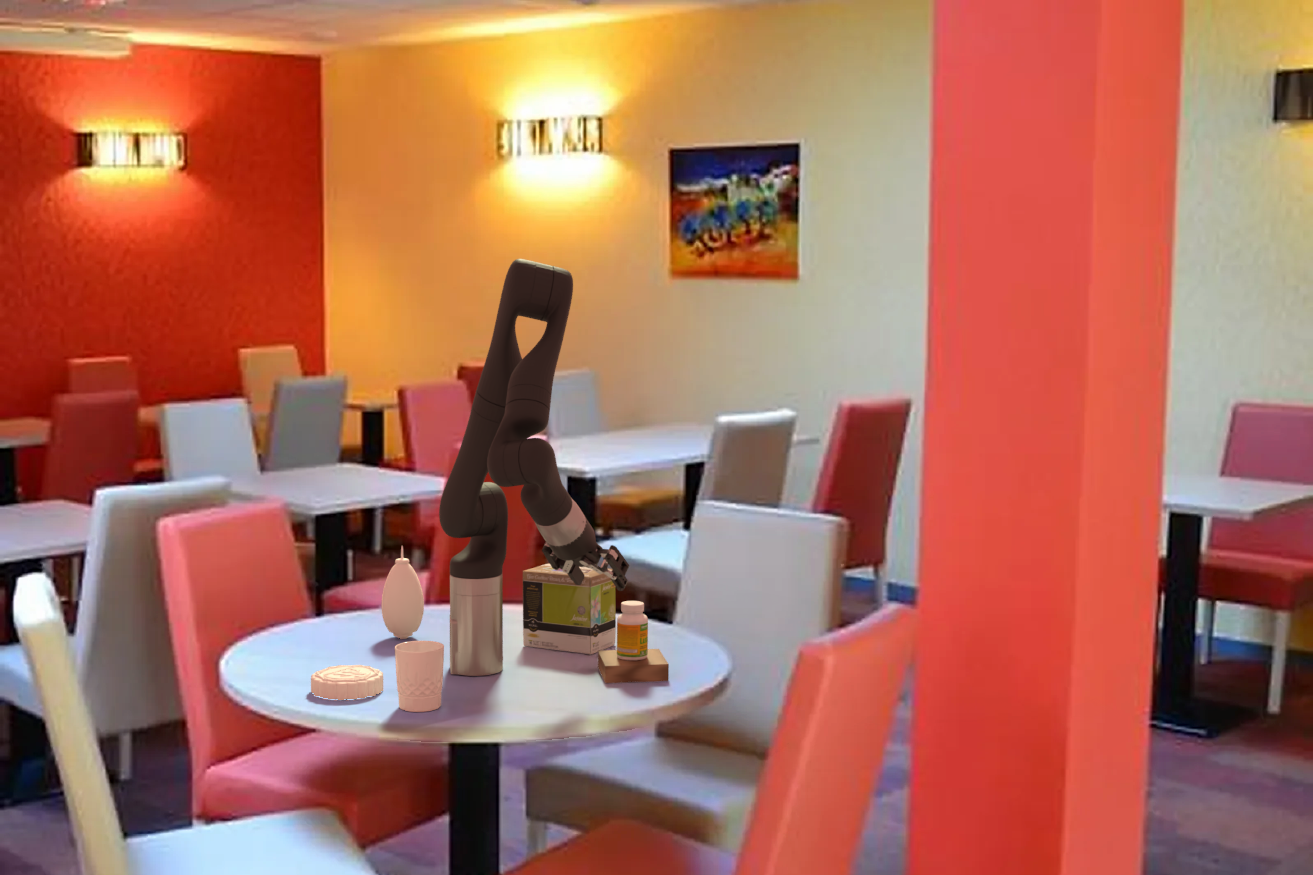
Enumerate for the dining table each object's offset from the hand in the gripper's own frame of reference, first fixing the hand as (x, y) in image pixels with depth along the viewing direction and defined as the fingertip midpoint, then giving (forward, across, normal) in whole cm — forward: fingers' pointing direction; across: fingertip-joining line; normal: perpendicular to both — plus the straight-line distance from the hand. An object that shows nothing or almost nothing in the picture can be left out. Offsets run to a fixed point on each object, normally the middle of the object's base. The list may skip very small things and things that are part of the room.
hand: (601, 583), depth 267 cm
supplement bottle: (+18, 0, +4) cm, 18 cm away
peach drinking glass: (-6, +18, +31) cm, 37 cm away
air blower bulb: (+19, +51, +6) cm, 55 cm away
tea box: (+28, +21, -2) cm, 35 cm away
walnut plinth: (+20, 0, +6) cm, 20 cm away
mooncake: (-5, +34, +31) cm, 46 cm away
